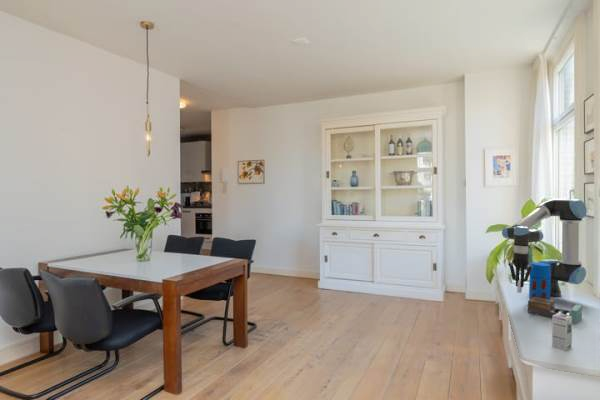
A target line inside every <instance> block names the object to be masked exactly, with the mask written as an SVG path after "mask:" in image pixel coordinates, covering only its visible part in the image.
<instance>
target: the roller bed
mask: <svg viewBox="0 0 600 400" xmlns="http://www.w3.org/2000/svg"><path fill="white" fill-rule="evenodd" d="M527 308H528V307H527ZM527 313H528V314H531V315H536V316H540V317H544V318H545V317H546V318H549V319H552V316H553V315H555V314H557V313H561V314H566V315H569V316H571V310H568V309H563V308H558V307H554V308H553V309H552V310H550V311H549V312H546V311H541V310H536V309H532V308H528V309H527Z"/></svg>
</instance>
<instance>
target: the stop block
mask: <svg viewBox="0 0 600 400" xmlns="http://www.w3.org/2000/svg"><path fill="white" fill-rule="evenodd" d="M582 306H583V305H580V304H575V305H574V306H573V307H572V308H570V311H571V316H572V324H574V325H577V324H578V323H579V322H580V321H581V319H582V314H583V313H582V312H583V311H582V310H583V309H582V308H583V307H582Z"/></svg>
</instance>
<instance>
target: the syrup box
mask: <svg viewBox="0 0 600 400" xmlns="http://www.w3.org/2000/svg"><path fill="white" fill-rule="evenodd" d="M551 319H552V323H551V324H552V326H551V327H552V328H551V329H552V332H551V333H552V334H551V335H552V336H551V337H552V339H551V342H552V343H551V346H552V347H553V348H555V349H558V350H561V351H566V352H568V351H569V350H571V349H572V343H573V342H572V338H573V337H572V335H573V333H572V330H573V329H572V326H573V325H572V324H573V323H572V316H569V315H566V314H561V313H557V314H555V315H553V316H552V318H551Z"/></svg>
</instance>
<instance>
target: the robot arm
mask: <svg viewBox="0 0 600 400" xmlns="http://www.w3.org/2000/svg"><path fill="white" fill-rule="evenodd" d="M587 212H588V209H587V206H586V203H585V202H584V201H583V200H581V199H576V198H552V199H549V200H547V201H544V202H542V203H540V204H538V205H537V206H536V207H535V209H534V210H533V211H531V212H530V213H529V214H527V215H526V216H524V217H523V218H522V219H520V220H519V221H518V222H516V223H515V224H513V225H512V226H505V227H503V229H502V230H501V236H502V237H503V238H505V239H508V240H513V258H512V260H511V262H508V263H507V265H508V267H509V271H510V274H511V279H512V280H514V281H515V287H517V288H516V289H517V291H516V292H517V294H518V293H519V294H521V293H522V289H523V288H524V283H525V282H527V281H528V280H529V278H530V271H531V269H532V268H533V266H531V265H530V262H529V254H528V253H529V243H539V242H542V241H543V239H544V233H543V232H542V231H541V230H540V229H535V228H534V229H532V228H533V227H535V226H536V225H537V224H539V223H541V222H542V221H543V220H544V219H545V220H546V219H549V218H550V217H558V218H559V221H560V222H561V225H562V226H561V229H562V230H561V232H562V233H561V237H562V238H561V259H560V260H559V259H549V258H547V259H540V260H538V261H537V263H546V264H550V265H551V284H550V297H561V296H562V290H561V287H560V285H559V282H564V283H568V284H570V285H580V284H582V283H583V282H584V280H585V279H586V275H587V269H586V267H584V266H582V262H581V261H580V259H579V256H580V254H579V252H580V251H579V249H580V248H579V247H580V245H579V244H580V241H579V239H580V238H579V237H580V223H581V222H582V221H583V219H584V218H585V217H586V216H587ZM514 267H515V268H514ZM526 268H527V271H526V273H525V270H526Z"/></svg>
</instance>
